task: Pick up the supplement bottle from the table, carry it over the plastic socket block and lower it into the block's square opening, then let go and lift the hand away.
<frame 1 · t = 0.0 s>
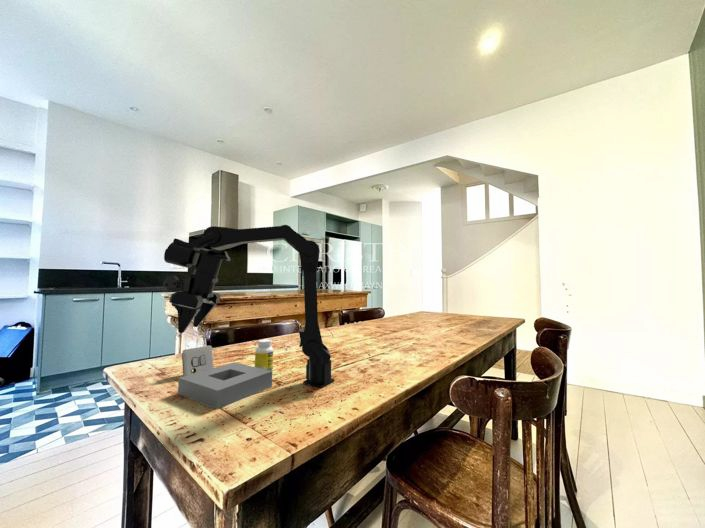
hand: (188, 329, 74), 15 cm above the table, tool pointing down, fingers open, 9 cm apart
socket block: (226, 390, 73), on the table
electrical switch: (196, 375, 85), on the table
coaster: (272, 419, 59), on the table
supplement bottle: (263, 373, 87), on the table
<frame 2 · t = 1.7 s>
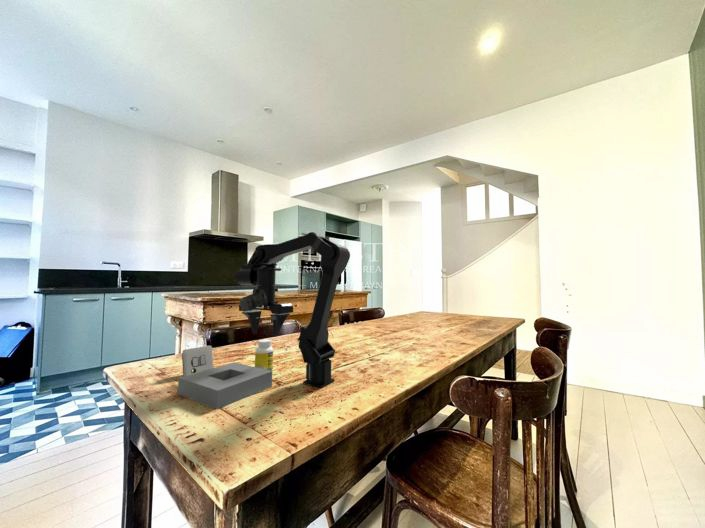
hand: (264, 335, 88), 11 cm above the table, tool pointing down, fingers open, 9 cm apart
nothing on the table moved.
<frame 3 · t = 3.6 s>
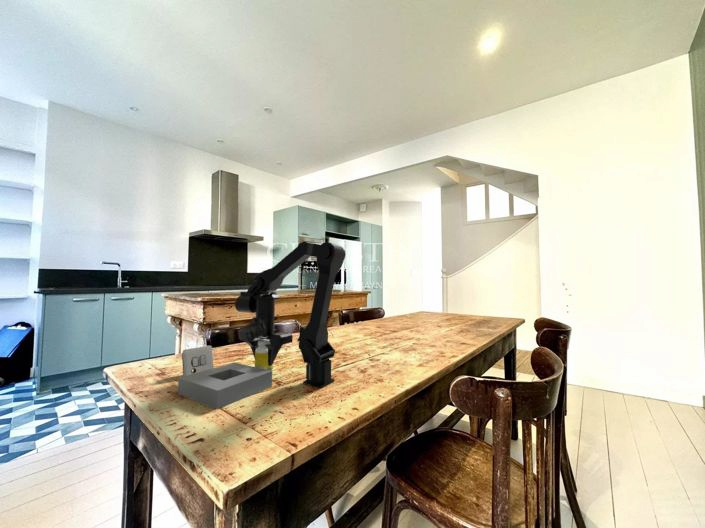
hand: (263, 364, 87), 3 cm above the table, tool pointing down, fingers closed on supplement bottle, 5 cm apart
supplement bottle: (263, 373, 87), on the table, touching gripper
everything else where it was.
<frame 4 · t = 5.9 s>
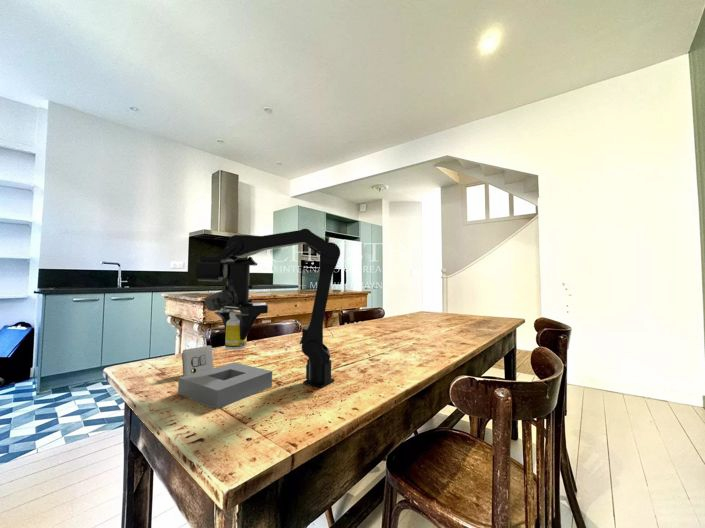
hand: (236, 338, 77), 13 cm above the table, tool pointing down, fingers closed on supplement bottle, 5 cm apart
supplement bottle: (235, 348, 76), point 10 cm above the table, touching gripper
everything else where it was.
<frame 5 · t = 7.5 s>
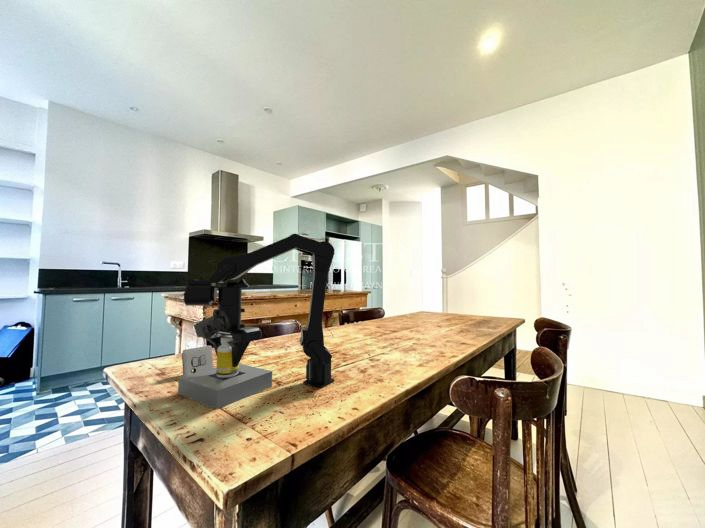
hand: (228, 365, 73), 6 cm above the table, tool pointing down, fingers closed on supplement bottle, 5 cm apart
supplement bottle: (227, 375, 73), point 4 cm above the table, touching gripper
everything else where it was.
when the fingers open (5 cm above the table, at t = 8.6 s): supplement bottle drops 3 cm, resting in socket block.
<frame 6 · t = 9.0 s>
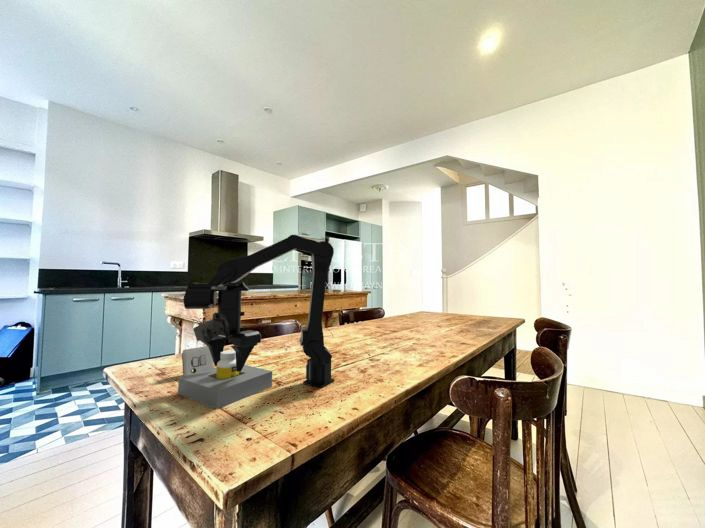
hand: (227, 368, 73), 5 cm above the table, tool pointing down, fingers open, 9 cm apart
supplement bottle: (227, 391, 73), resting in socket block
everything else where it was.
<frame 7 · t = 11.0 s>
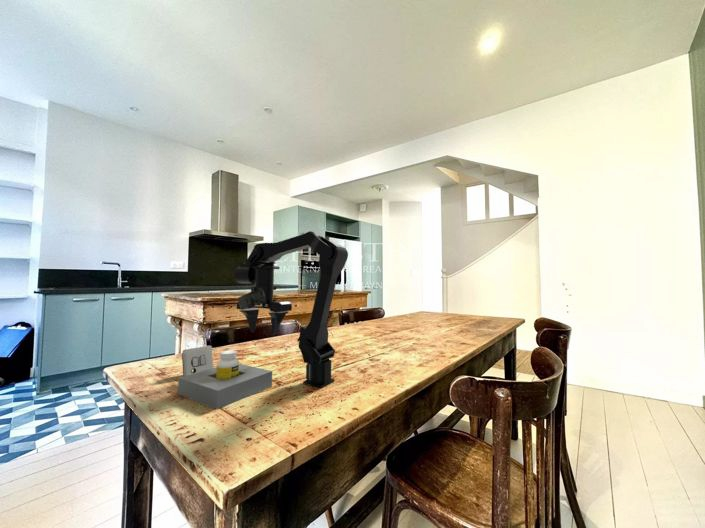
hand: (262, 333, 88), 12 cm above the table, tool pointing down, fingers open, 9 cm apart
nothing on the table moved.
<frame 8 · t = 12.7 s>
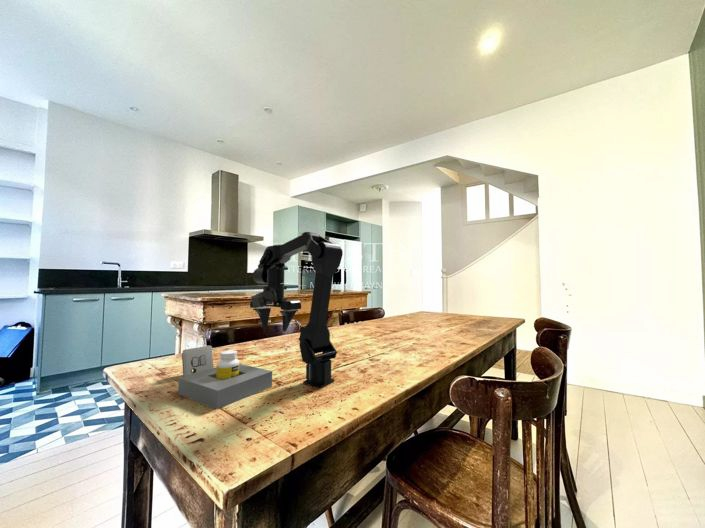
hand: (274, 330, 94), 12 cm above the table, tool pointing down, fingers open, 9 cm apart
nothing on the table moved.
at the end: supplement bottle 0.2 cm off-centre on the socket block, point 0.0 cm above the socket block's base; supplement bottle tilted 0°; the gripper is holding nothing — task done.
